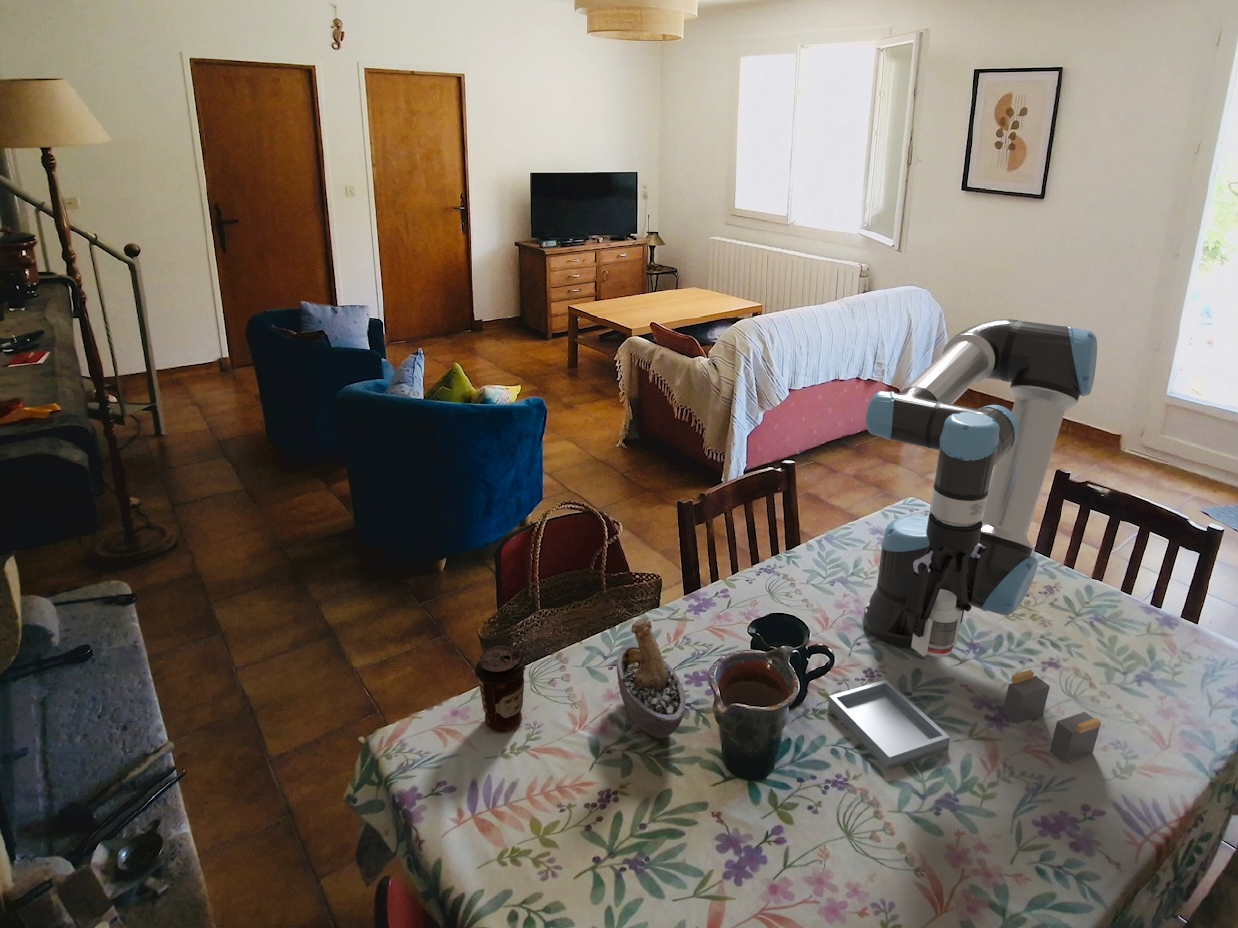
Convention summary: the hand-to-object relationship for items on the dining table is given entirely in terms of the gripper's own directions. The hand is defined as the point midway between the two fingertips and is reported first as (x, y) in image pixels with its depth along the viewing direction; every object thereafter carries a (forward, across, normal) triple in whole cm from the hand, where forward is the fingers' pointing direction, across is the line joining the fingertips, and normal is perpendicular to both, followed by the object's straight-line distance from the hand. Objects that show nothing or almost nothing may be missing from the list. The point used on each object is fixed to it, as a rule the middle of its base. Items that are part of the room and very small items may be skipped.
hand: (933, 645), depth 135 cm
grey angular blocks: (+17, +19, -9) cm, 27 cm away
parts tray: (+17, -5, +3) cm, 18 cm away
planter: (+17, -40, +21) cm, 48 cm away
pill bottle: (0, 0, 0) cm, 1 cm away
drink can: (+17, -62, +32) cm, 72 cm away
